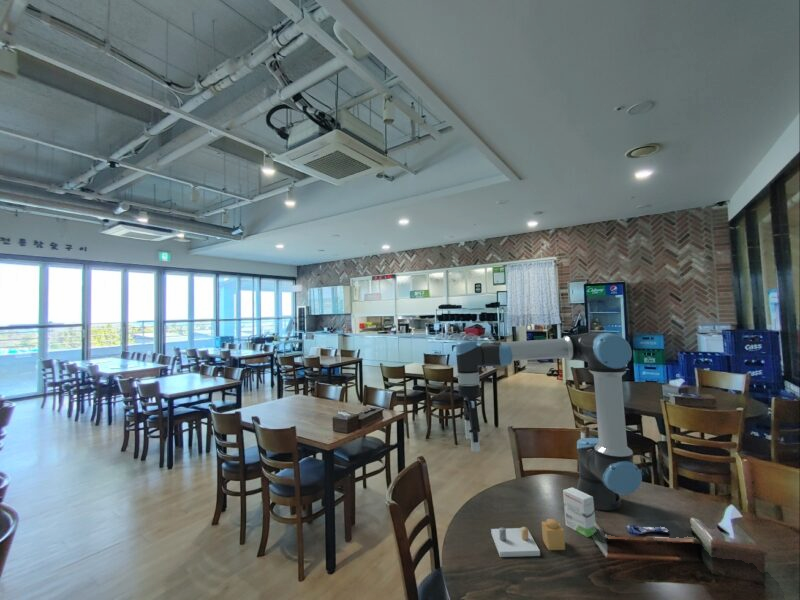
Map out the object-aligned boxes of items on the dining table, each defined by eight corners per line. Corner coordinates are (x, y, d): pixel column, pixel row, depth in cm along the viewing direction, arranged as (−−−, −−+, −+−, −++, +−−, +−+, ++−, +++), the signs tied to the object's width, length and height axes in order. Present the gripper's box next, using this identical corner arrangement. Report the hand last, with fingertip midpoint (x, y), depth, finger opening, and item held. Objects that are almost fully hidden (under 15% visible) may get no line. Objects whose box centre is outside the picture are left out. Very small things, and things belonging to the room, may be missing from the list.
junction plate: (527, 532, 120) (526, 517, 120) (540, 555, 108) (539, 539, 108) (491, 533, 120) (490, 519, 120) (500, 557, 108) (499, 540, 108)
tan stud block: (558, 539, 115) (556, 517, 115) (565, 549, 110) (563, 526, 110) (542, 540, 115) (541, 517, 115) (548, 550, 110) (547, 526, 110)
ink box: (597, 533, 117) (594, 496, 118) (587, 538, 115) (584, 500, 116) (574, 521, 125) (571, 486, 126) (564, 525, 123) (561, 489, 124)
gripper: (454, 379, 141) (457, 434, 140) (463, 391, 116) (467, 458, 115) (473, 378, 141) (477, 433, 139) (486, 390, 116) (490, 457, 115)
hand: (472, 444), depth 127 cm, fingers open, 13 cm apart
